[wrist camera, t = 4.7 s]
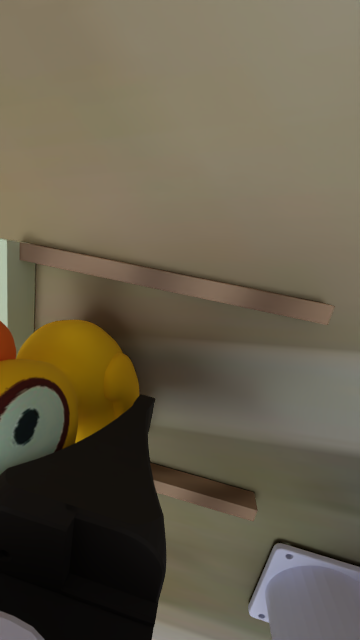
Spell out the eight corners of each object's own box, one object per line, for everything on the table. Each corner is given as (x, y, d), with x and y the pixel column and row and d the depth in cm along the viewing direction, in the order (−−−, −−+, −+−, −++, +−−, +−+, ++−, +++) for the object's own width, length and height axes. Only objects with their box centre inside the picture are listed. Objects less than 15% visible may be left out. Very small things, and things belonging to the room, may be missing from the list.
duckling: (46, 286, 14) (-319, 325, 4) (121, 270, 13) (-146, 273, 3) (94, 435, 16) (-81, 674, 7) (161, 431, 15) (68, 710, 6)
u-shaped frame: (322, 302, 12) (344, 309, 10) (250, 502, 16) (255, 535, 14) (21, 241, 14) (-10, 236, 12) (20, 435, 17) (-5, 456, 15)
